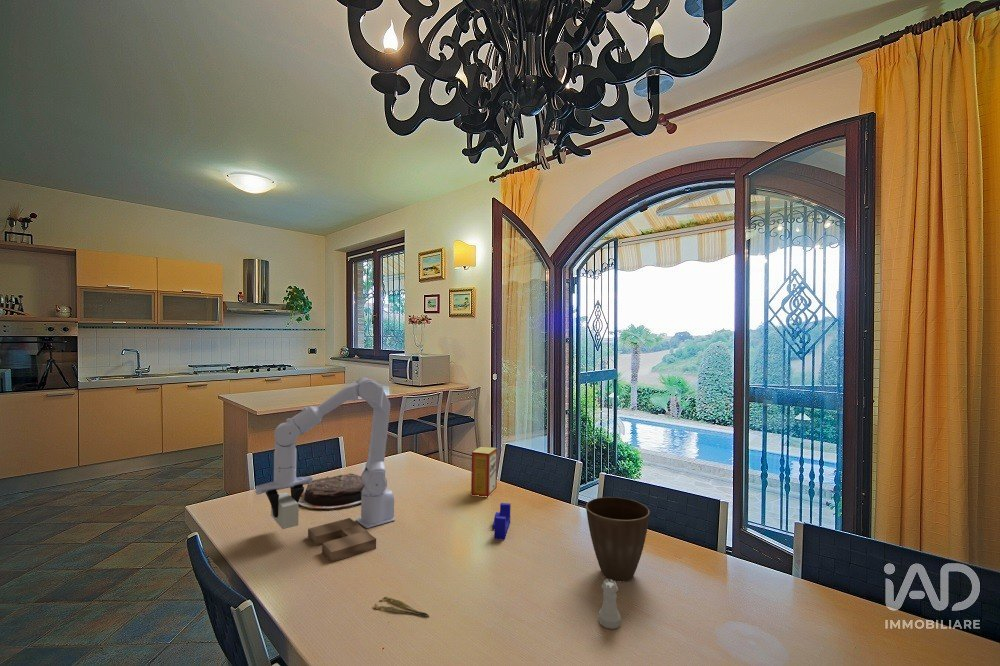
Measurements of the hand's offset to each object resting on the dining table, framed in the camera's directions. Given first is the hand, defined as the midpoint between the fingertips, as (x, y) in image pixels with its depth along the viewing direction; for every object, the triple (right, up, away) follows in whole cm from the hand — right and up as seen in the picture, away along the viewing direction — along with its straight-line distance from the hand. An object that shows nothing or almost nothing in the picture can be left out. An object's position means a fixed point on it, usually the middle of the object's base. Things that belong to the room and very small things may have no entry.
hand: (284, 514), depth 125 cm
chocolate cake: (+3, -8, +33) cm, 34 cm away
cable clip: (+61, -8, +6) cm, 62 cm away
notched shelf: (+17, -6, -4) cm, 19 cm away
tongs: (+41, -7, -33) cm, 53 cm away
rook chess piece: (+83, -7, -37) cm, 91 cm away
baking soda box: (+55, -8, +38) cm, 68 cm away
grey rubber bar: (0, -2, 0) cm, 2 cm away
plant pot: (+89, -7, -18) cm, 91 cm away
